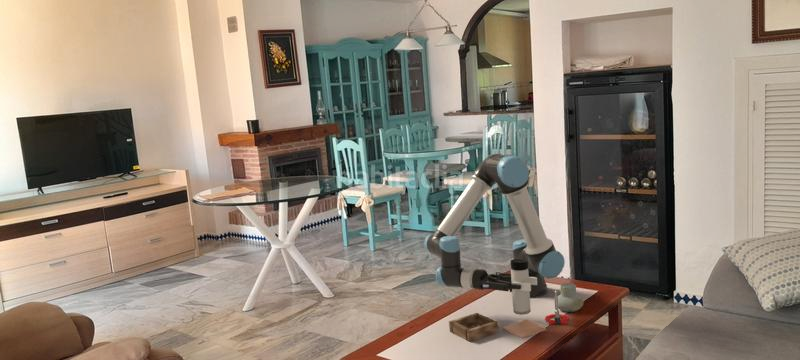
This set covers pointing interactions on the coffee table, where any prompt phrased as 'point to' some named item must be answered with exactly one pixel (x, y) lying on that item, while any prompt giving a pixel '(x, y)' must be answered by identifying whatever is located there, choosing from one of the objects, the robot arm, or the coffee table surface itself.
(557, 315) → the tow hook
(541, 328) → the terracotta tile
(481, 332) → the wooden tray
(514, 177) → the robot arm
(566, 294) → the air freshener
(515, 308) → the travel mug
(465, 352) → the coffee table surface
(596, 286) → the coffee table surface
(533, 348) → the coffee table surface
